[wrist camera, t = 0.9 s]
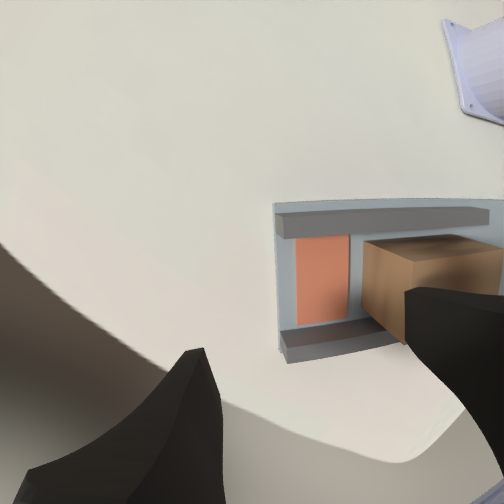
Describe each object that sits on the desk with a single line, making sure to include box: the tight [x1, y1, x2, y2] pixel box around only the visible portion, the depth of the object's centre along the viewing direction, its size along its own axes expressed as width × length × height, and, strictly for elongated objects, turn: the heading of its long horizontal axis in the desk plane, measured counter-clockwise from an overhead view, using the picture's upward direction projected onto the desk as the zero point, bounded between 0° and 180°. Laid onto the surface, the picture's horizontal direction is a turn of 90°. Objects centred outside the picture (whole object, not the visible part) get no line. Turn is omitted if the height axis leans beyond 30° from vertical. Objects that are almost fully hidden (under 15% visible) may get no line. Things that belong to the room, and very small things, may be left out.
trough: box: [272, 198, 504, 364], centre depth 17 cm, size 26×9×2 cm, turn 94°
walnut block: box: [361, 234, 504, 345], centre depth 15 cm, size 7×4×5 cm, turn 94°
